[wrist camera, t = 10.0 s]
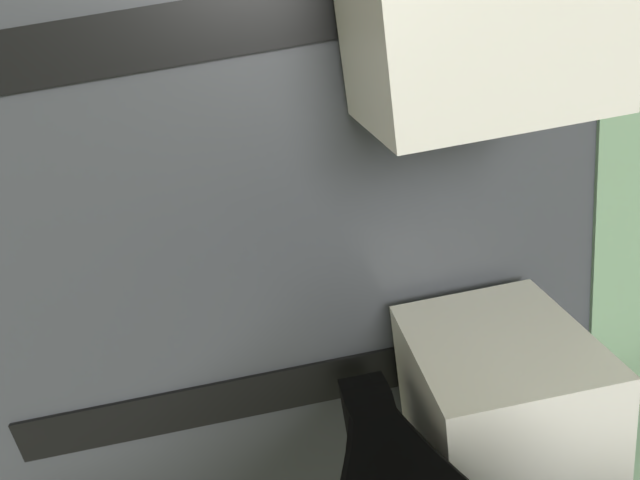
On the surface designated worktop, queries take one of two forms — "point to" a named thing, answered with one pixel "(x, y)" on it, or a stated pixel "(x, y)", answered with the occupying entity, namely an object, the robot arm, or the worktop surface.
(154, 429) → the switch panel
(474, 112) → the outer switch
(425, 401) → the middle switch
